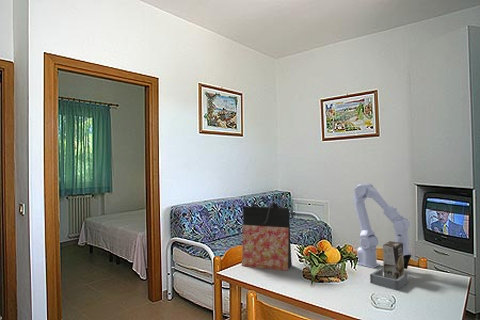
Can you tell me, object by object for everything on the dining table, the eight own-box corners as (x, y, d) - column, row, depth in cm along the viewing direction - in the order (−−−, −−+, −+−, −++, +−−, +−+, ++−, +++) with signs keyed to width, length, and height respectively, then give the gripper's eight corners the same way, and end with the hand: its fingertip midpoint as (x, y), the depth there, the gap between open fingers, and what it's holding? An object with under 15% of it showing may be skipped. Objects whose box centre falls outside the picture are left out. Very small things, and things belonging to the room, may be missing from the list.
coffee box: (397, 281, 143) (396, 247, 143) (383, 278, 148) (381, 245, 147) (405, 275, 149) (403, 242, 149) (391, 272, 154) (389, 240, 153)
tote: (370, 283, 142) (370, 274, 142) (380, 276, 151) (380, 267, 151) (397, 290, 134) (397, 281, 134) (407, 282, 142) (407, 274, 142)
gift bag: (239, 267, 167) (238, 202, 167) (248, 259, 180) (247, 199, 181) (293, 273, 156) (292, 204, 157) (298, 264, 170) (297, 201, 170)
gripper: (405, 247, 147) (406, 275, 146) (415, 241, 157) (416, 268, 157) (390, 244, 152) (390, 272, 152) (400, 239, 162) (401, 265, 162)
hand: (402, 270), depth 154 cm, fingers open, 5 cm apart
